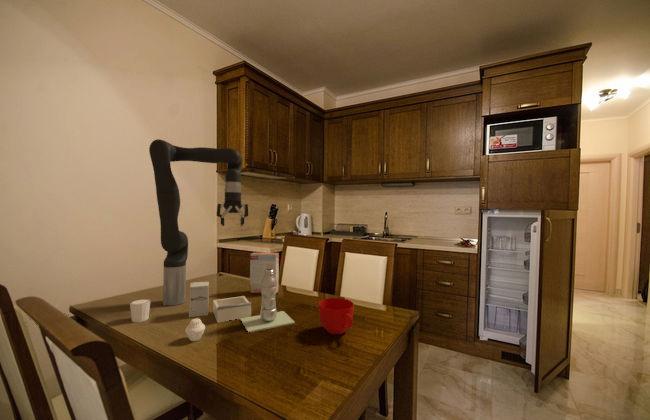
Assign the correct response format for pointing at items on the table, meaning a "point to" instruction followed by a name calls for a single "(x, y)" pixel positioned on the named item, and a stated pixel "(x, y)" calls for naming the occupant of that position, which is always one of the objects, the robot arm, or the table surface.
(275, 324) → the mat
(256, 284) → the cracker box
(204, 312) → the supplement box
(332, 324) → the ceramic cup
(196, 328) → the muffin
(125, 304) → the table surface
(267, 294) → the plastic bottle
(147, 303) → the shot glass
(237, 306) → the sleeve
